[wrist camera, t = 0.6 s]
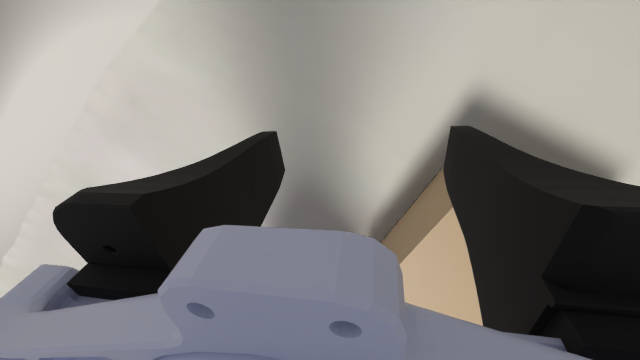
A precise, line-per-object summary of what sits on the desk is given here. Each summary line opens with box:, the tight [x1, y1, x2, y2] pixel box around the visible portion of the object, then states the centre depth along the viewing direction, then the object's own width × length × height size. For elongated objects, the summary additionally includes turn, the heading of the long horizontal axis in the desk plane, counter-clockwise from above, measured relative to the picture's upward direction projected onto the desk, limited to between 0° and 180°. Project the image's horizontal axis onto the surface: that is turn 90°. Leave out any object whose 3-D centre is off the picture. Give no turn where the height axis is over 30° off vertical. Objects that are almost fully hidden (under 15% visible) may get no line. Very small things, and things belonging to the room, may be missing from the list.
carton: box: [381, 166, 483, 326], centre depth 24 cm, size 14×12×5 cm
